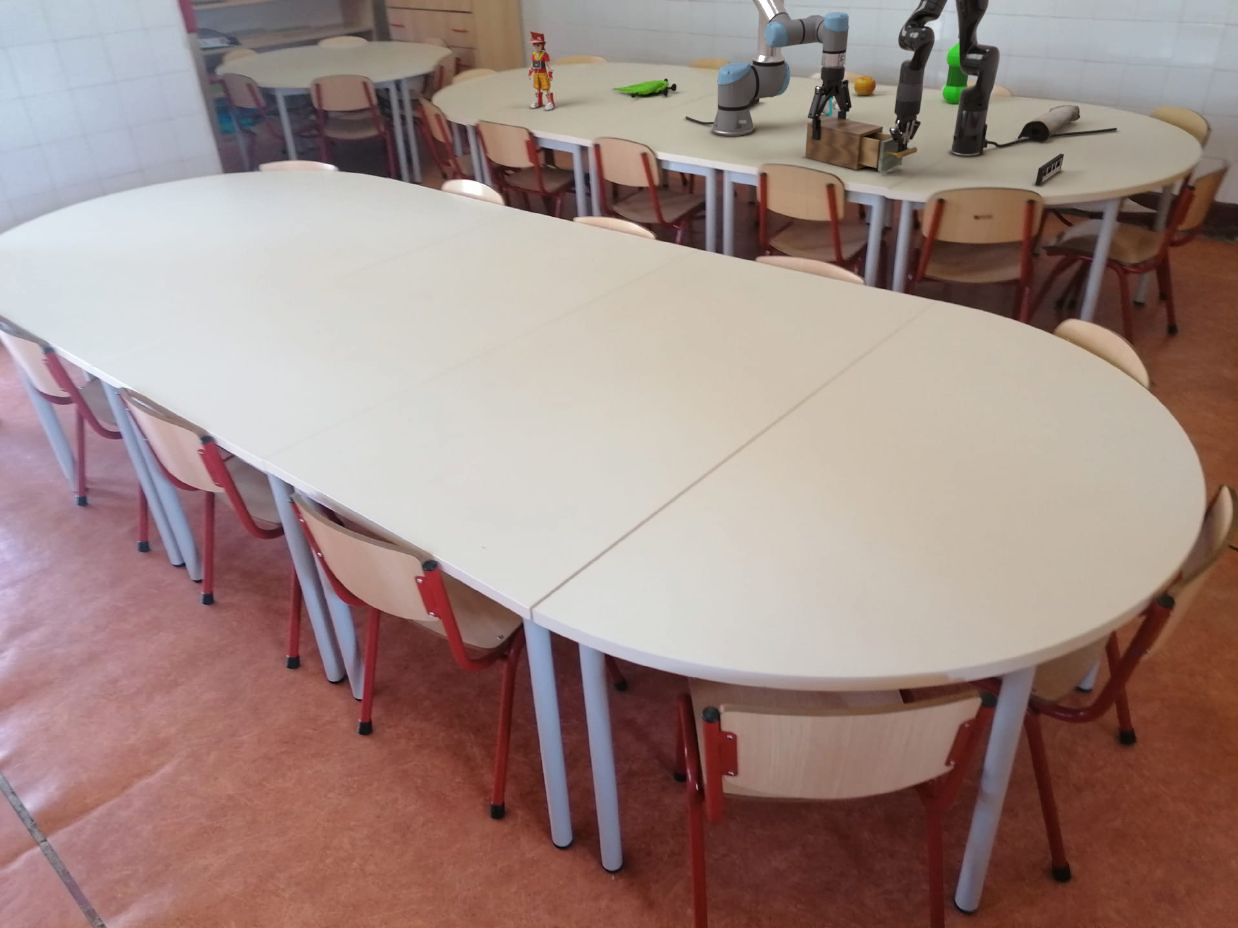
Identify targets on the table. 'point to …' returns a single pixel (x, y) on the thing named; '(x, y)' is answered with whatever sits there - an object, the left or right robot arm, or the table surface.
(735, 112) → the left robot arm
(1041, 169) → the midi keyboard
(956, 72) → the plastic bottle
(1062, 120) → the rolled mat
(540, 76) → the toy
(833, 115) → the anatomical model
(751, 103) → the disk drive
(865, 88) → the fruit
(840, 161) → the cabinet
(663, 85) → the toy
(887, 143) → the drawer
